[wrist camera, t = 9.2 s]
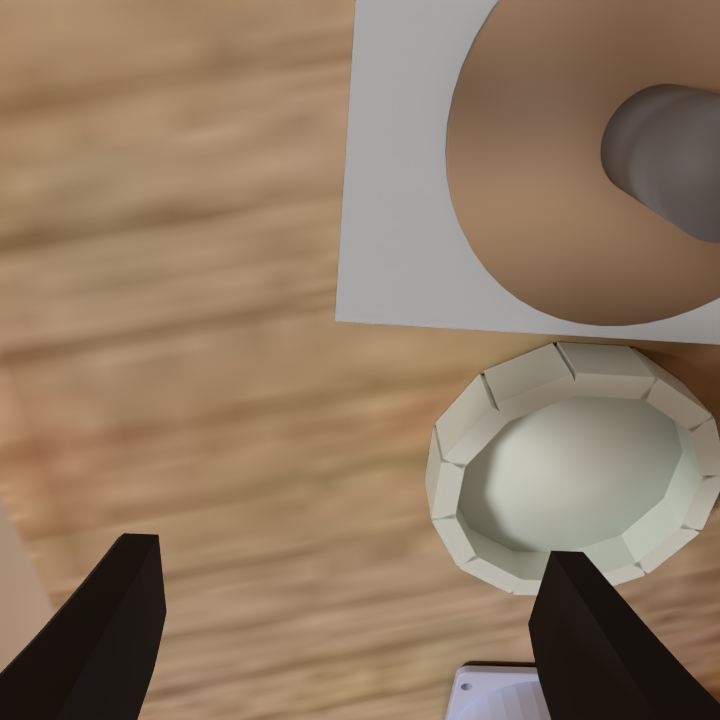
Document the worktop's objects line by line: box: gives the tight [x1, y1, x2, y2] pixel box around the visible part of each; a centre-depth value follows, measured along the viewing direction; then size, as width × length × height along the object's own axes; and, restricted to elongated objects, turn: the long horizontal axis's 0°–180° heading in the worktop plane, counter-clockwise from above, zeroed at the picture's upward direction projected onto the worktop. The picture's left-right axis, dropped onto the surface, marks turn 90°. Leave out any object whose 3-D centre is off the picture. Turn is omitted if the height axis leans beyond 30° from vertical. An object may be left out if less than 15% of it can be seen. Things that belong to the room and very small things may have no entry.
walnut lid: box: [445, 0, 720, 326], centre depth 15 cm, size 11×11×5 cm
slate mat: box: [335, 0, 720, 345], centre depth 17 cm, size 12×16×1 cm
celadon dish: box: [425, 342, 720, 595], centre depth 22 cm, size 10×10×2 cm
